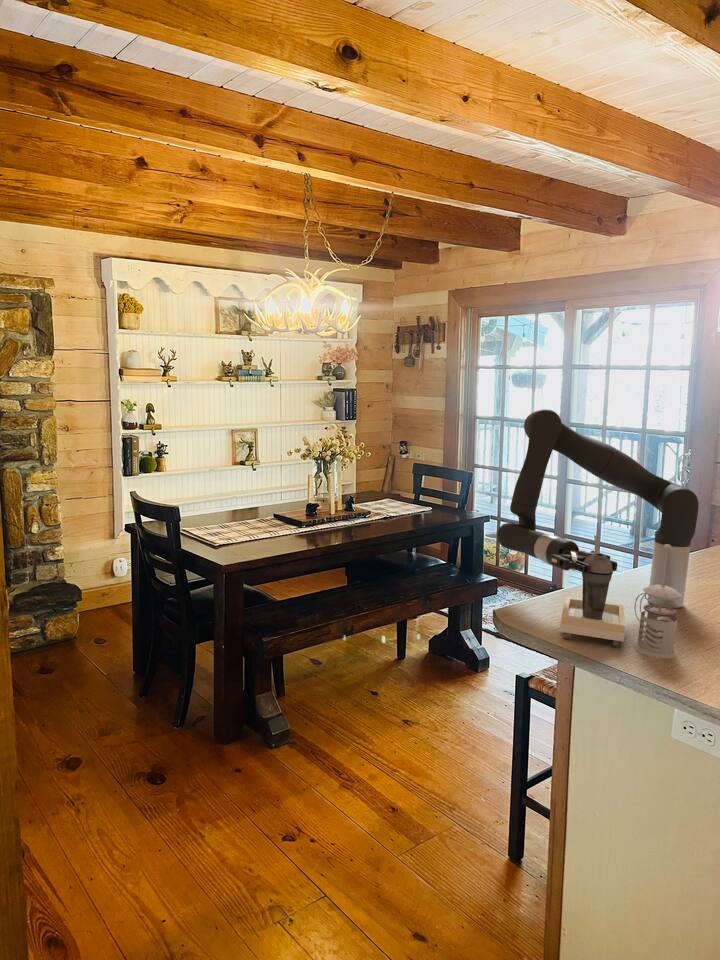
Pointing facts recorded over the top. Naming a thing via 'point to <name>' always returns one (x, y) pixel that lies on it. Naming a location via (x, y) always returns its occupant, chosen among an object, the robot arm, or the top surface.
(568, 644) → the top surface
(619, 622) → the caster cart
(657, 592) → the french press
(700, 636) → the top surface
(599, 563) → the beverage cup
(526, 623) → the top surface
